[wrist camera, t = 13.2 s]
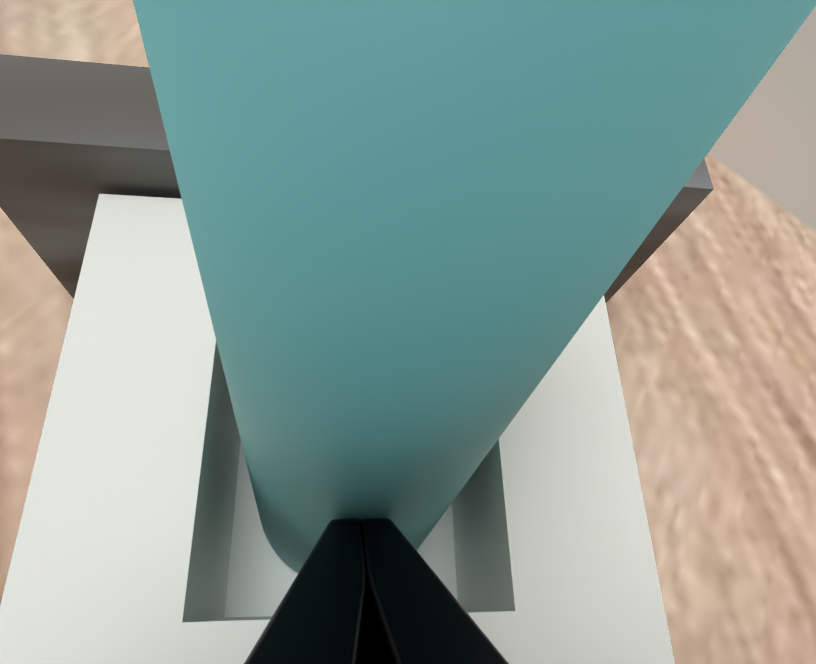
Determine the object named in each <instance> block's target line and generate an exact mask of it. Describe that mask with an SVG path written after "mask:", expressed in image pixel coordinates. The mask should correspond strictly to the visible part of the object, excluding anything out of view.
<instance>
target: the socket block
mask: <svg viewBox="0 0 816 664" xmlns="http://www.w3.org/2000/svg"><path fill="white" fill-rule="evenodd" d="M417 552H418V553H419V554H420V555H421V557H422V558H423V559H424V560H425V562H426V563H427V564H428V565H429V566H430V568H431V569H432V570H433V571H434V573H435V574H436V575H437V576H438V577H439V579H440V580H441V581H442V582H443V584H444V585H445V586H446V587H447V588H448V590H449V591H450V592H451V593H452V595H453V596H454V597H455V598H456V599H457V601H458V602H459V603H460V604H461V606H462V607H463V608H464V609H465V610H466V612H467V613H468V614H469V615H470V617H471V618H472V619H473V620H474V621H475V623H476V624H477V625H478V626H479V628H480V629H481V630H482V631H483V632H484V634H485V635H486V636H487V637H488V639H489V640H490V641H491V642H492V643H493V645H494V646H495V647H496V648H497V650H498V651H499V652H500V653H501V654H502V656H503V657H504V658H505V659H506V661H507V662H508V663H509V664H675V660H674V655H673V650H672V645H671V640H670V635H669V629H668V624H667V619H666V614H665V609H664V603H663V598H662V593H661V588H660V583H659V578H658V572H657V567H656V562H655V557H654V552H653V546H652V541H651V536H650V531H649V526H648V521H647V515H646V510H645V505H644V500H643V495H642V490H641V484H640V479H639V474H638V469H637V464H636V458H635V453H634V448H633V443H632V438H631V433H630V427H629V422H628V417H627V412H626V407H625V401H624V396H623V391H622V386H621V381H620V376H619V370H618V365H617V360H616V355H615V350H614V345H613V339H612V334H611V329H610V324H609V319H608V313H607V308H606V303H605V298H604V296H603V297H602V298H601V300H600V301H599V302H598V304H597V305H596V306H595V308H594V309H593V311H592V312H591V313H590V315H589V316H588V317H587V319H586V320H585V322H584V323H583V324H582V326H581V327H580V328H579V330H578V331H577V332H576V334H575V335H574V337H573V338H572V339H571V341H570V342H569V343H568V345H567V346H566V347H565V349H564V350H563V352H562V353H561V354H560V356H559V357H558V358H557V360H556V361H555V363H554V364H553V365H552V367H551V368H550V369H549V371H548V372H547V373H546V375H545V376H544V378H543V379H542V380H541V382H540V383H539V384H538V386H537V387H536V388H535V390H534V391H533V393H532V394H531V395H530V397H529V398H528V399H527V401H526V402H525V403H524V405H523V406H522V408H521V409H520V410H519V412H518V413H517V414H516V416H515V417H514V419H513V420H512V421H511V423H510V424H509V425H508V427H507V428H506V429H505V431H504V432H503V434H502V435H501V436H500V438H499V439H498V440H497V442H496V443H495V444H494V446H493V447H492V449H491V450H490V451H489V453H488V454H487V455H486V457H485V458H484V460H483V461H482V462H481V464H480V465H479V466H478V468H477V469H476V470H475V472H474V473H473V475H472V476H471V477H470V479H469V480H468V481H467V483H466V484H465V485H464V487H463V488H462V490H461V491H460V492H459V494H458V495H457V496H456V498H455V499H454V501H453V502H452V503H451V505H450V506H449V507H448V509H447V510H446V511H445V513H444V514H443V516H442V517H441V518H440V520H439V521H438V522H437V524H436V525H435V526H434V528H433V529H432V531H431V532H430V533H429V535H428V536H427V537H426V539H425V540H424V541H423V543H422V544H421V546H420V547H419V548H418V550H417ZM297 575H298V573H297V572H295V571H294V570H292V569H291V568H290V567H289V566H288V565H286V564H285V563H284V562H283V561H282V560H281V559H280V557H279V556H278V555H277V554H276V553H275V551H274V550H273V548H272V547H271V545H270V544H269V542H268V540H267V538H266V535H265V533H264V531H263V528H262V524H261V521H260V517H259V513H258V509H257V505H256V501H255V496H254V492H253V488H252V484H251V480H250V476H249V472H248V468H247V464H246V460H245V456H244V452H243V447H242V443H241V439H240V435H239V431H238V427H237V423H236V419H235V415H234V411H233V407H232V403H231V398H230V394H229V390H228V386H227V382H226V378H225V374H224V370H223V366H222V362H221V358H220V353H219V349H218V345H217V341H216V337H215V333H214V329H213V325H212V321H211V317H210V313H209V309H208V304H207V300H206V296H205V292H204V288H203V284H202V280H201V276H200V272H199V268H198V264H197V259H196V255H195V251H194V247H193V243H192V239H191V235H190V231H189V227H188V223H187V219H186V215H185V210H184V206H183V202H182V199H178V198H162V197H145V196H129V195H112V194H99V197H98V201H97V205H96V209H95V213H94V217H93V222H92V226H91V230H90V234H89V238H88V242H87V247H86V251H85V255H84V259H83V263H82V267H81V272H80V276H79V280H78V284H77V288H76V292H75V297H74V301H73V305H72V309H71V313H70V317H69V322H68V326H67V330H66V334H65V338H64V342H63V347H62V351H61V355H60V359H59V363H58V367H57V372H56V376H55V380H54V384H53V388H52V392H51V397H50V401H49V405H48V409H47V413H46V417H45V422H44V426H43V430H42V434H41V438H40V442H39V447H38V451H37V455H36V459H35V463H34V467H33V472H32V476H31V480H30V484H29V488H28V492H27V497H26V501H25V505H24V509H23V513H22V517H21V522H20V526H19V530H18V534H17V538H16V542H15V547H14V551H13V555H12V559H11V563H10V567H9V572H8V576H7V580H6V584H5V588H4V592H3V597H2V601H1V605H0V664H244V662H245V661H246V659H247V657H248V656H249V654H250V652H251V651H252V649H253V647H254V646H255V644H256V642H257V641H258V639H259V638H260V636H261V634H262V633H263V631H264V629H265V628H266V626H267V624H268V623H269V621H270V619H271V618H272V616H273V614H274V613H275V611H276V609H277V608H278V606H279V604H280V603H281V601H282V599H283V598H284V596H285V594H286V593H287V591H288V589H289V588H290V586H291V584H292V583H293V581H294V580H295V578H296V576H297Z"/></svg>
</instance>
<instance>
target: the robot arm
mask: <svg viewBox="0 0 816 664" xmlns="http://www.w3.org/2000/svg"><path fill="white" fill-rule="evenodd" d="M244 664H509V663H508V662H507V661H506V659H505V658H504V657H503V656H502V654H501V653H500V652H499V651H498V650H497V648H496V647H495V646H494V645H493V643H492V642H491V641H490V640H489V639H488V637H487V636H486V635H485V634H484V632H483V631H482V630H481V629H480V628H479V626H478V625H477V624H476V623H475V621H474V620H473V619H472V618H471V617H470V615H469V614H468V613H467V612H466V610H465V609H464V608H463V607H462V606H461V604H460V603H459V602H458V601H457V599H456V598H455V597H454V596H453V595H452V593H451V592H450V591H449V590H448V588H447V587H446V586H445V585H444V584H443V582H442V581H441V580H440V579H439V577H438V576H437V575H436V574H435V573H434V571H433V570H432V569H431V568H430V566H429V565H428V564H427V563H426V562H425V560H424V559H423V558H422V557H421V555H420V554H419V553H418V552H417V551H416V549H415V548H414V547H413V546H412V544H411V543H410V542H409V541H408V540H407V538H406V537H405V536H404V535H403V533H402V532H401V531H400V530H399V528H398V527H397V526H396V525H395V524H394V522H393V521H392V520H390V519H364V520H362V522H360V521H359V520H358V519H333V520H331V521H330V522H329V523H328V525H327V526H326V528H325V530H324V531H323V533H322V535H321V536H320V538H319V540H318V541H317V543H316V545H315V546H314V548H313V550H312V551H311V553H310V555H309V556H308V558H307V560H306V561H305V563H304V565H303V566H302V568H301V570H300V571H299V573H298V575H297V576H296V578H295V580H294V581H293V583H292V584H291V586H290V588H289V589H288V591H287V593H286V594H285V596H284V598H283V599H282V601H281V603H280V604H279V606H278V608H277V609H276V611H275V613H274V614H273V616H272V618H271V619H270V621H269V623H268V624H267V626H266V628H265V629H264V631H263V633H262V634H261V636H260V638H259V639H258V641H257V642H256V644H255V646H254V647H253V649H252V651H251V652H250V654H249V656H248V657H247V659H246V661H245V662H244Z"/></svg>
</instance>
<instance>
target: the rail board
mask: <svg viewBox="0 0 816 664" xmlns="http://www.w3.org/2000/svg"><path fill="white" fill-rule="evenodd" d="M712 190H713V185H712V182H711V179H710V176H709V173H708V169H707V166H706V163H705V160H704V159H703V160H702V162H701V163H700V164H699V166H698V167H697V168H696V170H695V171H694V173H693V174H692V175H691V177H690V178H689V179H688V181H687V182H686V184H685V185H684V186H683V188H682V189H681V190H680V192H679V193H678V194H677V196H676V197H675V199H674V200H673V201H672V203H671V204H670V205H669V207H668V208H667V209H666V211H665V212H664V214H663V215H662V216H661V218H660V219H659V220H658V222H657V223H656V225H655V226H654V227H653V229H652V230H651V231H650V233H649V234H648V235H647V237H646V238H645V240H644V241H643V242H642V244H641V245H640V246H639V248H638V249H637V250H636V252H635V253H634V255H633V256H632V257H631V259H630V260H629V261H628V263H627V264H626V266H625V267H624V268H623V270H622V271H621V272H620V274H619V275H618V276H617V278H616V279H615V281H614V282H613V283H612V285H611V286H610V287H609V289H608V290H607V291H606V293H605V294H604V298H605V303H606V302H607V301H608V300H609V299H610V298H611V297H612V296H613V295H614V294H615V293H616V292H617V291H618V290H619V289H620V288H621V286H622V285H623V284H624V283H625V282H626V281H627V280H628V279H629V278H630V277H631V276H632V275H633V274H634V273H635V272H636V271H637V270H638V268H639V267H640V266H641V265H642V264H643V263H644V262H645V261H646V260H647V259H648V258H649V257H650V256H651V255H652V254H653V253H654V252H655V250H656V249H657V248H658V247H659V246H660V245H661V244H662V243H663V242H664V241H665V240H666V239H667V238H668V237H669V236H670V235H671V234H672V232H673V231H674V230H675V229H676V228H677V227H678V226H679V225H680V224H681V223H682V222H683V221H684V220H685V219H686V218H687V217H688V216H689V214H690V213H691V212H692V211H693V210H694V209H695V208H696V207H697V206H698V205H699V204H700V203H701V202H702V201H703V200H704V199H705V198H706V196H707V195H708V194H709V193H710V192H711V191H712ZM99 194H112V195H129V196H145V197H162V198H178V199H182V198H181V194H180V190H179V186H178V182H177V178H176V174H175V170H174V165H173V161H172V157H171V153H170V149H169V145H168V141H167V137H166V133H165V129H164V125H163V121H162V116H161V112H160V108H159V104H158V100H157V96H156V92H155V88H154V84H153V80H152V76H151V71H150V68H147V67H136V66H125V65H113V64H102V63H91V62H80V61H68V60H57V59H46V58H34V57H23V56H12V55H1V54H0V207H1V208H2V210H3V211H4V212H5V213H6V215H7V216H8V217H9V218H10V220H11V221H12V222H13V223H14V225H15V226H16V227H17V228H18V230H19V231H20V232H21V233H22V235H23V236H24V237H25V238H26V240H27V241H28V242H29V243H30V245H31V246H32V247H33V248H34V250H35V251H36V252H37V253H38V255H39V256H40V257H41V259H42V260H43V261H44V262H45V264H46V265H47V266H48V267H49V269H50V270H51V271H52V272H53V274H54V275H55V276H56V277H57V279H58V280H59V281H60V282H61V284H62V285H63V286H64V287H65V289H66V290H67V291H68V292H69V294H70V295H71V296H72V297H73V299H74V297H75V292H76V288H77V284H78V280H79V276H80V272H81V267H82V263H83V259H84V255H85V251H86V247H87V242H88V238H89V234H90V230H91V226H92V222H93V217H94V213H95V209H96V205H97V201H98V197H99ZM68 322H69V321H68ZM62 347H63V346H62ZM56 372H57V371H56ZM50 397H51V396H50ZM44 422H45V421H44ZM38 447H39V446H38ZM32 472H33V471H32ZM26 497H27V496H26ZM20 522H21V521H20ZM14 547H15V546H14ZM8 572H9V571H8ZM2 597H3V596H2Z"/></svg>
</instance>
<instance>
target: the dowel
mask: <svg viewBox="0 0 816 664" xmlns="http://www.w3.org/2000/svg"><path fill="white" fill-rule="evenodd" d="M133 2H134V6H135V10H136V14H137V18H138V22H139V27H140V31H141V35H142V39H143V43H144V47H145V51H146V55H147V59H148V63H149V67H150V71H151V76H152V80H153V84H154V88H155V92H156V96H157V100H158V104H159V108H160V112H161V116H162V121H163V125H164V129H165V133H166V137H167V141H168V145H169V149H170V153H171V157H172V161H173V165H174V170H175V174H176V178H177V182H178V186H179V190H180V194H181V198H182V202H183V206H184V210H185V215H186V219H187V223H188V227H189V231H190V235H191V239H192V243H193V247H194V251H195V255H196V259H197V264H198V268H199V272H200V276H201V280H202V284H203V288H204V292H205V296H206V300H207V304H208V309H209V313H210V317H211V321H212V325H213V329H214V333H215V337H216V341H217V345H218V349H219V353H220V358H221V362H222V366H223V370H224V374H225V378H226V382H227V386H228V390H229V394H230V398H231V403H232V407H233V411H234V415H235V419H236V423H237V427H238V431H239V435H240V439H241V443H242V447H243V452H244V456H245V460H246V464H247V468H248V472H249V476H250V480H251V484H252V488H253V492H254V496H255V501H256V505H257V509H258V513H259V517H260V521H261V524H262V528H263V531H264V533H265V535H266V538H267V540H268V542H269V544H270V545H271V547H272V548H273V550H274V551H275V553H276V554H277V555H278V556H279V557H280V559H281V560H282V561H283V562H284V563H285V564H286V565H288V566H289V567H290V568H291V569H292V570H294V571H295V572H297V573H299V571H300V570H301V568H302V566H303V565H304V563H305V561H306V560H307V558H308V556H309V555H310V553H311V551H312V550H313V548H314V546H315V545H316V543H317V541H318V540H319V538H320V536H321V535H322V533H323V531H324V530H325V528H326V526H327V525H328V523H329V522H330V521H331V520H333V519H358V520H359V521H360V522H362V520H364V519H390V520H392V521H393V522H394V524H395V525H396V526H397V527H398V528H399V530H400V531H401V532H402V533H403V535H404V536H405V537H406V538H407V540H408V541H409V542H410V543H411V544H412V546H413V547H414V548H415V549H416V551H417V550H418V548H419V547H420V546H421V544H422V543H423V541H424V540H425V539H426V537H427V536H428V535H429V533H430V532H431V531H432V529H433V528H434V526H435V525H436V524H437V522H438V521H439V520H440V518H441V517H442V516H443V514H444V513H445V511H446V510H447V509H448V507H449V506H450V505H451V503H452V502H453V501H454V499H455V498H456V496H457V495H458V494H459V492H460V491H461V490H462V488H463V487H464V485H465V484H466V483H467V481H468V480H469V479H470V477H471V476H472V475H473V473H474V472H475V470H476V469H477V468H478V466H479V465H480V464H481V462H482V461H483V460H484V458H485V457H486V455H487V454H488V453H489V451H490V450H491V449H492V447H493V446H494V444H495V443H496V442H497V440H498V439H499V438H500V436H501V435H502V434H503V432H504V431H505V429H506V428H507V427H508V425H509V424H510V423H511V421H512V420H513V419H514V417H515V416H516V414H517V413H518V412H519V410H520V409H521V408H522V406H523V405H524V403H525V402H526V401H527V399H528V398H529V397H530V395H531V394H532V393H533V391H534V390H535V388H536V387H537V386H538V384H539V383H540V382H541V380H542V379H543V378H544V376H545V375H546V373H547V372H548V371H549V369H550V368H551V367H552V365H553V364H554V363H555V361H556V360H557V358H558V357H559V356H560V354H561V353H562V352H563V350H564V349H565V347H566V346H567V345H568V343H569V342H570V341H571V339H572V338H573V337H574V335H575V334H576V332H577V331H578V330H579V328H580V327H581V326H582V324H583V323H584V322H585V320H586V319H587V317H588V316H589V315H590V313H591V312H592V311H593V309H594V308H595V306H596V305H597V304H598V302H599V301H600V300H601V298H602V297H603V296H604V294H605V293H606V291H607V290H608V289H609V287H610V286H611V285H612V283H613V282H614V281H615V279H616V278H617V276H618V275H619V274H620V272H621V271H622V270H623V268H624V267H625V266H626V264H627V263H628V261H629V260H630V259H631V257H632V256H633V255H634V253H635V252H636V250H637V249H638V248H639V246H640V245H641V244H642V242H643V241H644V240H645V238H646V237H647V235H648V234H649V233H650V231H651V230H652V229H653V227H654V226H655V225H656V223H657V222H658V220H659V219H660V218H661V216H662V215H663V214H664V212H665V211H666V209H667V208H668V207H669V205H670V204H671V203H672V201H673V200H674V199H675V197H676V196H677V194H678V193H679V192H680V190H681V189H682V188H683V186H684V185H685V184H686V182H687V181H688V179H689V178H690V177H691V175H692V174H693V173H694V171H695V170H696V168H697V167H698V166H699V164H700V163H701V162H702V160H703V159H704V158H705V156H706V155H707V153H708V152H709V151H710V149H711V148H712V147H713V145H714V144H715V142H716V141H717V140H718V138H719V137H720V136H721V134H722V133H723V132H724V130H725V129H726V128H727V126H728V125H729V123H730V122H731V121H732V119H733V118H734V117H735V115H736V114H737V112H738V111H739V110H740V108H741V107H742V106H743V104H744V103H745V102H746V100H747V99H748V97H749V96H750V95H751V93H752V92H753V91H754V89H755V88H756V87H757V85H758V84H759V82H760V81H761V80H762V78H763V77H764V76H765V74H766V73H767V71H768V70H769V69H770V67H771V66H772V64H773V63H774V62H775V60H776V59H777V58H778V56H779V55H780V54H781V52H782V51H783V50H784V48H785V47H786V46H787V44H788V43H789V41H790V40H791V39H792V37H793V36H794V35H795V33H796V32H797V30H798V29H799V28H800V26H801V25H802V24H803V22H804V21H805V20H806V18H807V17H808V15H809V14H810V13H811V11H812V10H813V9H814V7H815V6H816V0H133Z"/></svg>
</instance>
